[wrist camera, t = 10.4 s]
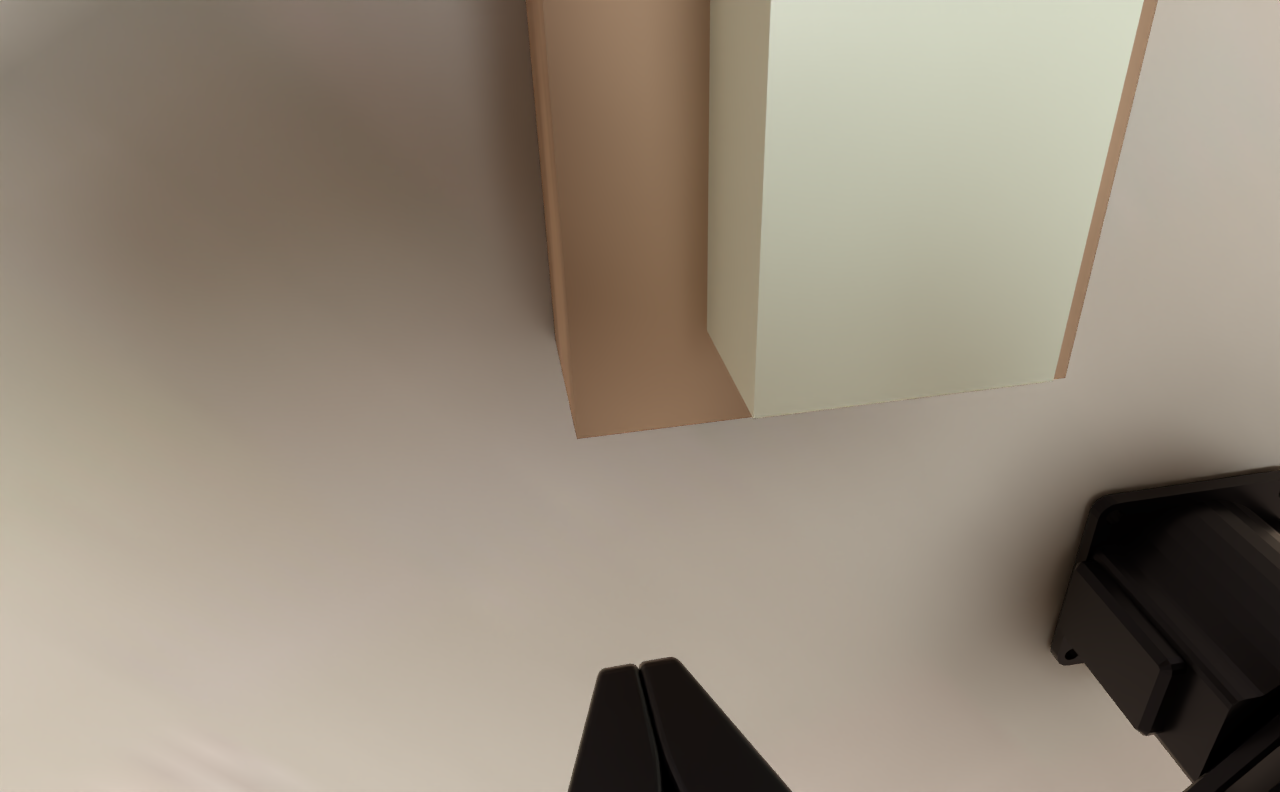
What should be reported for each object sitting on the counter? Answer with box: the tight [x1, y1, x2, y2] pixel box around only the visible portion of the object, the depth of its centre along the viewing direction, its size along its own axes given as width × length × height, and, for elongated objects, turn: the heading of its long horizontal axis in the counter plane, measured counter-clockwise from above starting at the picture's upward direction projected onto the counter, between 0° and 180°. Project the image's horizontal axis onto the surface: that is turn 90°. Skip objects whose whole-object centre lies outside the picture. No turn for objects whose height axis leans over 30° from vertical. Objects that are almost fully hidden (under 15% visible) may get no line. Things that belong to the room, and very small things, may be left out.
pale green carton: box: [707, 0, 1144, 419], centre depth 14 cm, size 5×6×3 cm
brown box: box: [526, 0, 1158, 439], centre depth 17 cm, size 10×10×4 cm
